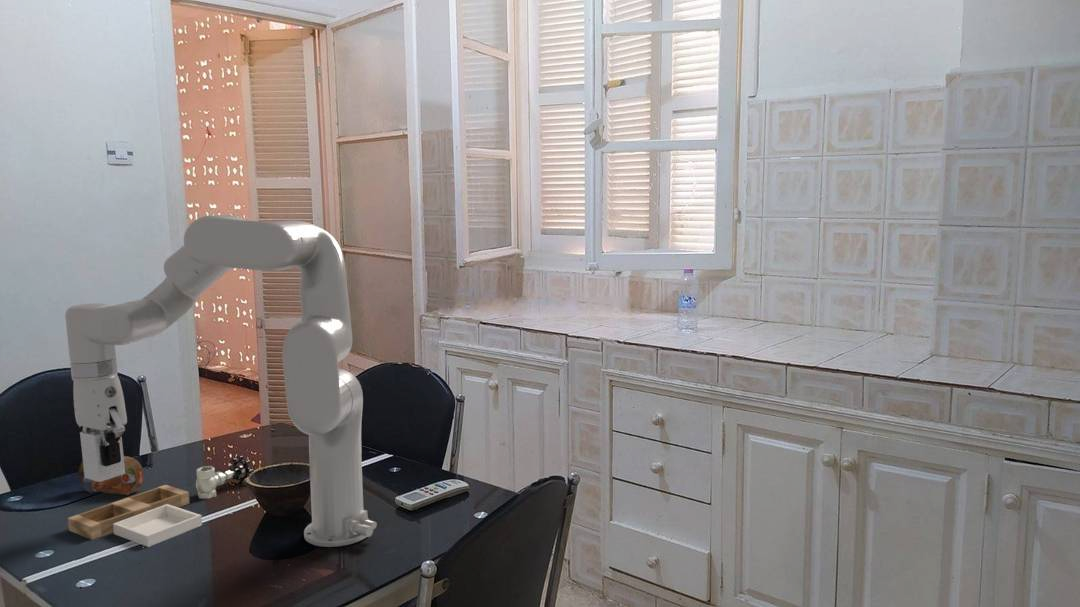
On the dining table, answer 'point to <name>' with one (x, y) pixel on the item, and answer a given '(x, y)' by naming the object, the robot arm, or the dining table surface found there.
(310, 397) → the robot arm
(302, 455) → the dining table surface
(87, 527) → the wooden compartment tray
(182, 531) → the dish
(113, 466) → the gray rectangular block
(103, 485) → the tin
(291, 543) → the dining table surface
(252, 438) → the dining table surface
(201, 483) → the valve
